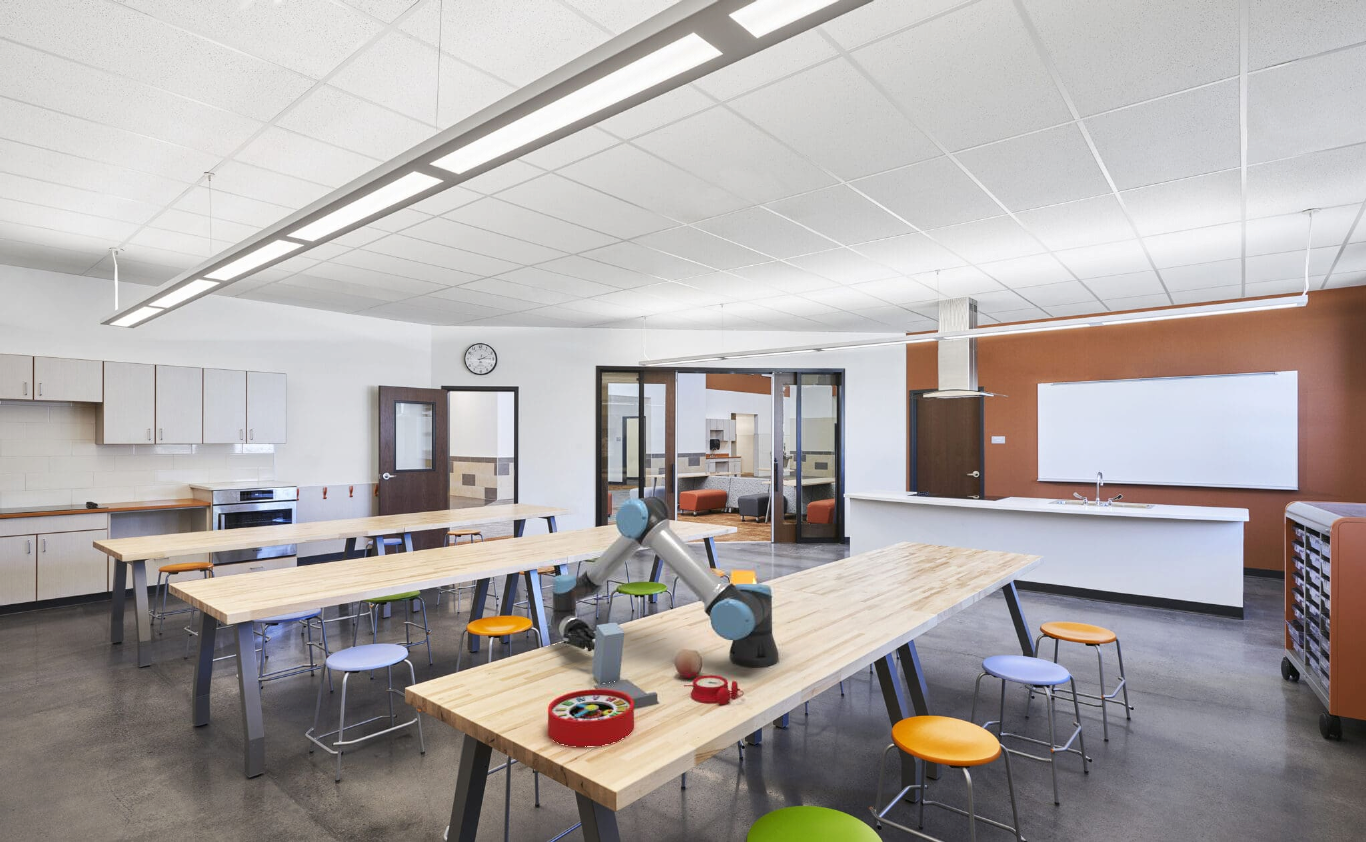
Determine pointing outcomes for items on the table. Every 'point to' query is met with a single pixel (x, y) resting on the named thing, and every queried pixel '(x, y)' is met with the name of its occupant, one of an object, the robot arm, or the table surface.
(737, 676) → the table surface
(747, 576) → the orange juice
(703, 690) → the alarm clock
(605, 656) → the blue-grey rectangular block
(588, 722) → the toy clock
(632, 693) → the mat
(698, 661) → the fruit
